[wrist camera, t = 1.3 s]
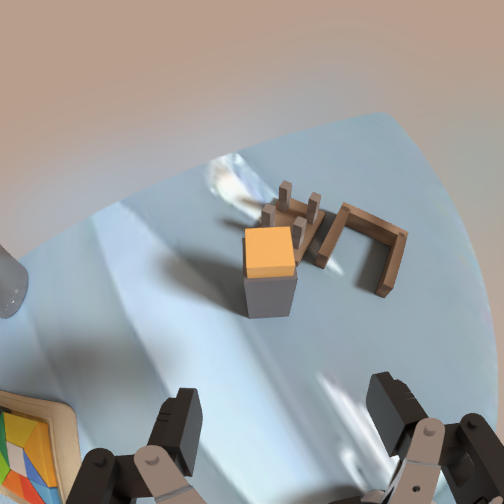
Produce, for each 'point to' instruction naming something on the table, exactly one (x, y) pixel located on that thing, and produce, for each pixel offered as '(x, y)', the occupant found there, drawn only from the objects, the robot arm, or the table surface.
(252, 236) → the grey orange block
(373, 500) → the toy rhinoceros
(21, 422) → the wooden puzzle
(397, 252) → the end holder
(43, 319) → the table surface
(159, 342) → the table surface
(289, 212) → the four-pronged plate
